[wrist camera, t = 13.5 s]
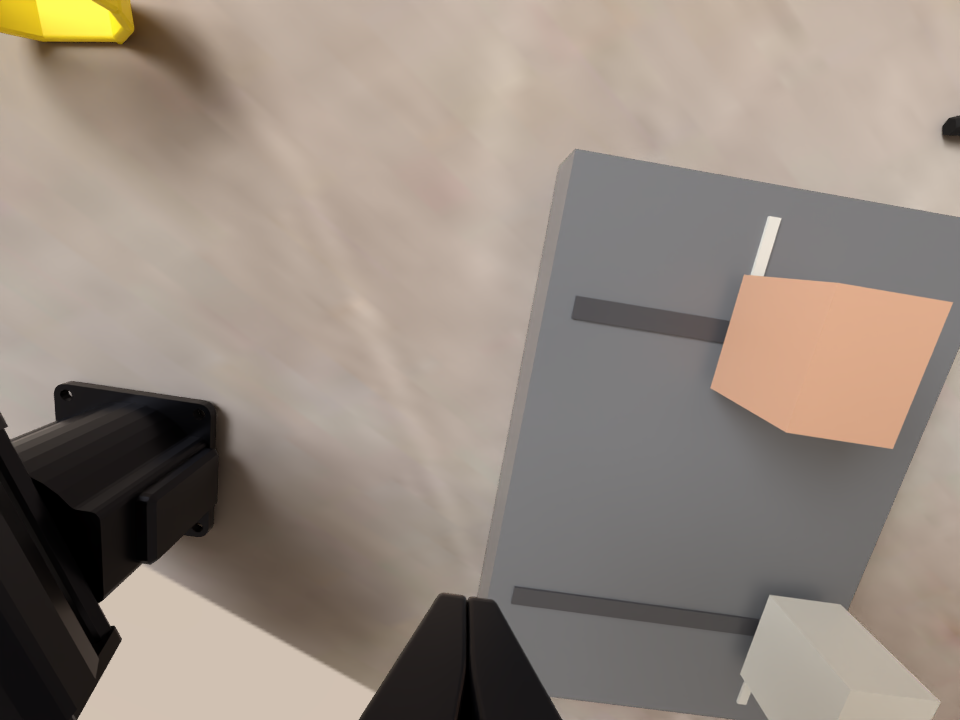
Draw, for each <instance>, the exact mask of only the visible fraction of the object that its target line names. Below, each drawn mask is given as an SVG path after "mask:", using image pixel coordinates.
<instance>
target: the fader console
mask: <svg viewBox="0 0 960 720" xmlns="http://www.w3.org/2000/svg"><path fill="white" fill-rule="evenodd" d="M744 275H754V276H765V277H777V278H788V279H799V280H811V281H822V282H834V283H842V284H848V285H854V286H860V287H866V288H871V289H877V290H883V291H889V292H895V293H901V294H907V295H913V296H919V297H925V298H930V299H936V300H942V301H948V302H953V304H952V306H951V309H950V311H949V314H948V316H947V319H946V321H945V323H944V326H943V328H942V331H941V333H940V336H939V338H938V340H937V343H936V345H935V348H934V350H933V353H932V355H931V357H930V360H929V362H928V365H927V367H926V370H925V372H924V374H923V377H922V379H921V382H920V384H919V387H918V389H917V391H916V394H915V396H914V399H913V401H912V404H911V406H910V408H909V411H908V413H907V416H906V418H905V421H904V423H903V426H902V428H901V430H900V433H899V435H898V438H897V440H896V443H895V445H894V447H893V449H890V448H883V447H877V446H870V445H863V444H857V443H850V442H844V441H837V440H831V439H824V438H818V437H811V436H805V435H798V434H792V433H786V432H784V431H783V430H781V429H779V428H778V427H776V426H774V425H772V424H771V423H769V422H767V421H766V420H764V419H762V418H761V417H759V416H757V415H755V414H754V413H752V412H750V411H749V410H747V409H745V408H744V407H742V406H740V405H738V404H737V403H735V402H733V401H732V400H730V399H728V398H726V397H725V396H723V395H721V394H720V393H718V392H716V391H715V390H713V389H711V388H710V387H711V384H712V381H713V377H714V374H715V371H716V367H717V364H718V360H719V357H720V354H721V350H722V347H723V344H724V340H725V337H726V334H727V330H728V327H729V323H730V320H731V317H732V313H733V310H734V307H735V303H736V300H737V296H738V293H739V290H740V286H741V283H742V280H743V276H744ZM959 347H960V217H955V216H949V215H943V214H938V213H932V212H926V211H921V210H915V209H910V208H904V207H898V206H893V205H887V204H882V203H876V202H870V201H865V200H859V199H854V198H848V197H842V196H837V195H831V194H826V193H820V192H814V191H809V190H803V189H798V188H792V187H786V186H781V185H775V184H770V183H764V182H758V181H753V180H747V179H742V178H736V177H730V176H725V175H719V174H714V173H708V172H702V171H697V170H691V169H686V168H680V167H674V166H669V165H663V164H657V163H652V162H646V161H641V160H635V159H629V158H624V157H618V156H613V155H607V154H601V153H596V152H590V151H585V150H579V149H575V150H574V151H573V152H572V153H571V154H570V155H569V156H568V157H567V158H566V159H565V160H564V161H563V162H562V163H561V164H560V166H559V168H558V173H557V179H556V184H555V189H554V195H553V200H552V205H551V210H550V216H549V221H548V226H547V231H546V237H545V242H544V247H543V253H542V258H541V263H540V268H539V274H538V279H537V284H536V289H535V295H534V300H533V305H532V311H531V316H530V321H529V326H528V332H527V337H526V342H525V347H524V353H523V358H522V363H521V369H520V374H519V379H518V384H517V390H516V395H515V400H514V405H513V411H512V416H511V421H510V427H509V432H508V437H507V442H506V448H505V453H504V458H503V463H502V469H501V474H500V479H499V485H498V490H497V495H496V500H495V506H494V511H493V516H492V521H491V527H490V532H489V537H488V543H487V548H486V553H485V558H484V564H483V569H482V574H481V579H480V585H479V590H478V595H477V597H479V598H487V599H492V600H494V601H495V602H496V603H497V604H498V606H499V608H500V610H501V612H502V613H503V615H504V617H505V619H506V620H507V622H508V624H509V626H510V628H511V629H512V631H513V633H514V635H515V637H516V638H517V640H518V642H519V644H520V645H521V647H522V649H523V651H524V653H525V654H526V656H527V658H528V660H529V661H530V663H531V665H532V667H533V669H534V670H535V672H536V674H537V676H538V678H539V679H540V681H541V683H542V685H543V686H544V688H545V690H546V692H547V694H548V695H549V697H556V698H565V699H573V700H581V701H589V702H597V703H605V704H613V705H621V706H629V707H637V708H645V709H653V710H661V711H669V712H678V713H686V714H694V715H702V716H710V717H718V718H726V719H734V720H768V718H767V717H766V715H765V714H764V712H763V710H762V709H761V707H760V705H759V704H758V702H757V701H756V699H755V697H754V696H753V694H752V693H751V691H750V689H749V688H748V686H747V685H746V683H745V681H744V680H743V678H742V677H741V675H740V673H741V670H742V667H743V665H744V662H745V659H746V657H747V654H748V651H749V648H750V646H751V643H752V640H753V638H754V635H755V632H756V630H757V627H758V624H759V622H760V619H761V616H762V614H763V611H764V608H765V605H766V603H767V600H768V597H769V595H775V596H783V597H790V598H797V599H805V600H812V601H819V602H827V603H834V604H841V605H842V606H843V607H844V608H845V609H846V610H847V611H848V608H849V606H850V603H851V601H852V599H853V596H854V594H855V592H856V589H857V587H858V585H859V582H860V580H861V578H862V575H863V573H864V571H865V568H866V566H867V563H868V561H869V559H870V556H871V554H872V552H873V549H874V547H875V545H876V542H877V540H878V538H879V535H880V533H881V531H882V528H883V526H884V523H885V521H886V519H887V516H888V514H889V512H890V509H891V507H892V505H893V502H894V500H895V498H896V495H897V493H898V491H899V488H900V486H901V483H902V481H903V479H904V476H905V474H906V472H907V469H908V467H909V465H910V462H911V460H912V458H913V455H914V453H915V451H916V448H917V446H918V444H919V441H920V439H921V436H922V434H923V432H924V429H925V427H926V425H927V422H928V420H929V418H930V415H931V413H932V411H933V408H934V406H935V404H936V401H937V399H938V396H939V394H940V392H941V389H942V387H943V385H944V382H945V380H946V378H947V375H948V373H949V371H950V368H951V366H952V364H953V361H954V359H955V356H956V354H957V352H958V349H959Z"/></svg>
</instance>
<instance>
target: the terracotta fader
mask: <svg viewBox="0 0 960 720" xmlns="http://www.w3.org/2000/svg"><path fill="white" fill-rule="evenodd" d="M952 304H953V302H948V301H942V300H936V299H930V298H925V297H919V296H913V295H907V294H901V293H895V292H889V291H883V290H877V289H871V288H866V287H860V286H854V285H848V284H842V283H834V282H822V281H811V280H799V279H788V278H777V277H765V276H754V275H744V276H743V280H742V283H741V286H740V290H739V293H738V296H737V300H736V303H735V307H734V310H733V313H732V317H731V320H730V323H729V327H728V330H727V334H726V337H725V340H724V344H723V347H722V350H721V354H720V357H719V360H718V364H717V367H716V371H715V374H714V377H713V381H712V384H711V387H710V388H711V389H713V390H715V391H716V392H718V393H720V394H721V395H723V396H725V397H726V398H728V399H730V400H732V401H733V402H735V403H737V404H738V405H740V406H742V407H744V408H745V409H747V410H749V411H750V412H752V413H754V414H755V415H757V416H759V417H761V418H762V419H764V420H766V421H767V422H769V423H771V424H772V425H774V426H776V427H778V428H779V429H781V430H783V431H784V432H786V433H792V434H798V435H805V436H811V437H818V438H824V439H831V440H837V441H844V442H850V443H857V444H863V445H870V446H877V447H883V448H890V449H893V447H894V445H895V443H896V440H897V438H898V435H899V433H900V430H901V428H902V426H903V423H904V421H905V418H906V416H907V413H908V411H909V408H910V406H911V404H912V401H913V399H914V396H915V394H916V391H917V389H918V387H919V384H920V382H921V379H922V377H923V374H924V372H925V370H926V367H927V365H928V362H929V360H930V357H931V355H932V353H933V350H934V348H935V345H936V343H937V340H938V338H939V336H940V333H941V331H942V328H943V326H944V323H945V321H946V319H947V316H948V314H949V311H950V309H951V306H952Z"/></svg>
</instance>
